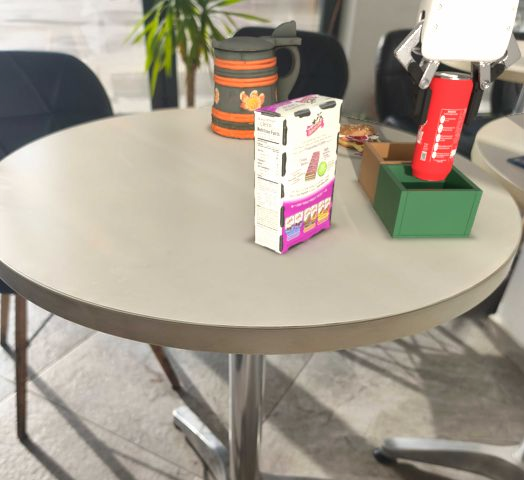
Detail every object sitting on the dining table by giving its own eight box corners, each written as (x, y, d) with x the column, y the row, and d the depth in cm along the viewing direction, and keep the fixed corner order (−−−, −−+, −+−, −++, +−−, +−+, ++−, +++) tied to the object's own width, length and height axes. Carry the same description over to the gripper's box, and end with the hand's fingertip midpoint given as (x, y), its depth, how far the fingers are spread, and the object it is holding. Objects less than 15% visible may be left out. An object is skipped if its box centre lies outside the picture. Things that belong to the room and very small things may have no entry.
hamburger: (309, 147, 98) (311, 115, 95) (352, 135, 106) (356, 105, 102) (365, 165, 91) (371, 130, 87) (408, 151, 98) (415, 118, 95)
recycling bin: (440, 209, 75) (452, 163, 71) (468, 240, 67) (483, 191, 63) (372, 209, 74) (380, 163, 70) (391, 241, 66) (401, 191, 62)
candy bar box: (302, 218, 71) (312, 92, 61) (331, 228, 69) (346, 99, 59) (250, 243, 64) (252, 106, 54) (280, 256, 62) (287, 115, 52)
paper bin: (416, 184, 83) (426, 142, 79) (437, 207, 76) (449, 162, 71) (358, 184, 83) (364, 141, 79) (372, 208, 75) (380, 162, 71)
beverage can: (434, 185, 63) (460, 80, 56) (401, 174, 66) (421, 73, 59) (456, 177, 66) (483, 76, 59) (423, 166, 69) (445, 69, 62)
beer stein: (280, 118, 116) (284, 16, 104) (308, 135, 106) (317, 23, 93) (202, 124, 110) (197, 16, 98) (224, 142, 100) (222, 24, 87)
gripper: (545, -62, 54) (493, 116, 66) (394, -67, 53) (367, 114, 64) (585, -64, 49) (520, 131, 60) (416, -71, 47) (382, 130, 59)
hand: (441, 121), depth 62 cm, fingers closed on beverage can, 5 cm apart
